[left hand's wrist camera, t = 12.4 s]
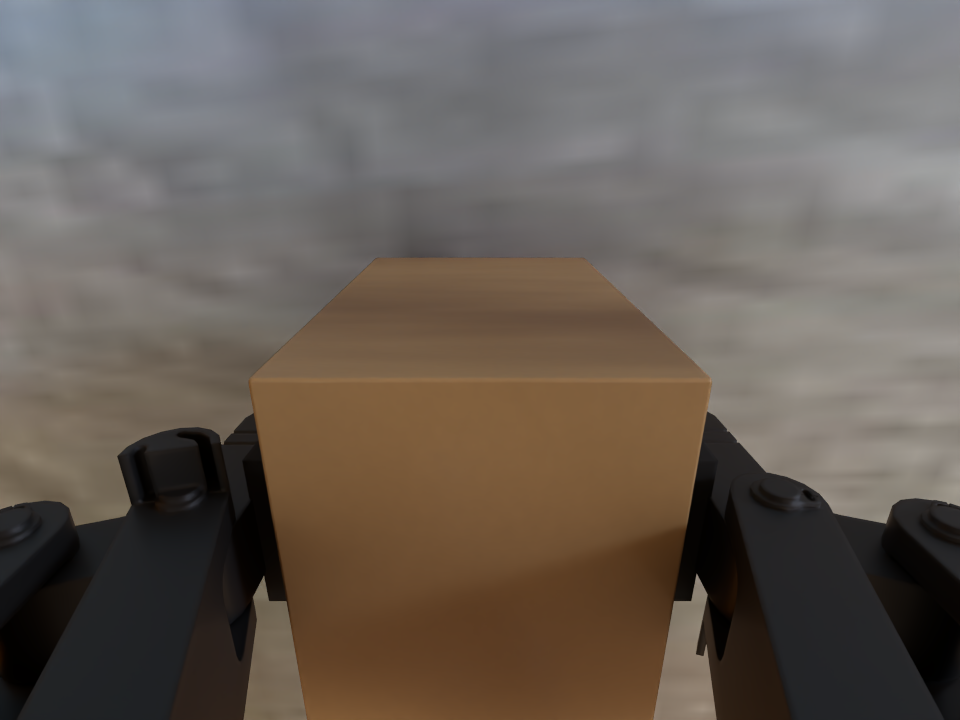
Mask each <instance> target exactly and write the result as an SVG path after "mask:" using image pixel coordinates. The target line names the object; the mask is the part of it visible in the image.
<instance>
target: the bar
mask: <svg viewBox="0 0 960 720" xmlns="http://www.w3.org/2000/svg"><path fill="white" fill-rule="evenodd" d="M711 385H712V380H711V378H710V377H709V376H708V375H707V374H706V373H705V372H704V371H703V370H702V369H701V368H700V367H699V366H698V365H697V364H696V363H695V362H693V361H692V360H691V359H690V358H689V357H688V356H687V355H686V354H685V353H684V352H683V351H682V350H681V349H680V348H679V347H678V346H677V345H675V344H674V343H673V342H672V341H671V340H670V339H669V338H668V337H667V336H666V335H665V334H664V333H663V332H662V331H661V330H660V329H659V328H658V327H656V326H655V325H654V324H653V323H652V322H651V321H650V320H649V319H648V318H647V317H646V316H645V315H644V314H643V313H642V312H641V311H640V310H638V309H637V308H636V307H635V306H634V305H633V304H632V303H631V302H630V301H629V300H628V299H627V298H626V297H625V296H624V295H623V294H622V293H620V292H619V291H618V290H617V289H616V288H615V287H614V286H613V285H612V284H611V283H610V282H609V281H608V280H607V279H606V278H605V277H604V276H603V275H601V274H600V273H599V272H598V271H597V270H596V269H595V268H594V267H593V266H592V265H591V264H590V263H589V262H588V261H587V260H586V259H585V258H376V259H375V260H374V261H373V262H372V263H371V264H369V265H368V266H367V267H366V268H365V269H364V270H363V271H362V272H361V273H360V274H359V275H358V276H357V277H356V278H355V279H354V280H353V281H352V282H350V283H349V284H348V285H347V286H346V287H345V288H344V289H343V290H342V291H341V292H340V293H339V294H338V295H337V296H336V297H335V298H334V299H332V300H331V301H330V302H329V303H328V304H327V305H326V306H325V307H324V308H323V309H322V310H321V311H320V312H319V313H318V314H317V315H316V316H315V317H313V318H312V319H311V320H310V321H309V322H308V323H307V324H306V325H305V326H304V327H303V328H302V329H301V330H300V331H299V332H298V333H297V334H295V335H294V336H293V337H292V338H291V339H290V340H289V341H288V342H287V343H286V344H285V345H284V346H283V347H282V348H281V349H280V350H279V351H278V352H276V353H275V354H274V355H273V356H272V357H271V358H270V359H269V360H268V361H267V362H266V363H265V364H264V365H263V366H262V367H261V368H260V369H259V370H257V371H256V372H255V373H254V374H253V375H252V376H251V377H250V378H249V388H250V394H251V400H252V405H253V411H254V417H255V422H256V428H257V434H258V440H259V445H260V451H261V457H262V463H263V468H264V474H265V480H266V486H267V491H268V497H269V503H270V508H271V514H272V520H273V526H274V531H275V537H276V543H277V549H278V554H279V560H280V566H281V572H282V577H283V583H284V589H285V594H286V600H287V606H288V612H289V617H290V623H291V629H292V635H293V640H294V646H295V652H296V658H297V663H298V669H299V675H300V680H301V686H302V692H303V698H304V703H305V709H306V715H307V720H653V717H654V711H655V705H656V700H657V694H658V688H659V683H660V677H661V671H662V665H663V660H664V654H665V648H666V643H667V637H668V631H669V625H670V620H671V614H672V608H673V603H674V597H675V591H676V585H677V580H678V574H679V568H680V563H681V557H682V551H683V545H684V540H685V534H686V528H687V523H688V517H689V511H690V505H691V500H692V494H693V488H694V483H695V477H696V471H697V465H698V460H699V454H700V448H701V443H702V437H703V431H704V425H705V420H706V414H707V408H708V403H709V397H710V391H711Z"/></svg>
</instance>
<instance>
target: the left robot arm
mask: <svg viewBox="0 0 960 720" xmlns="http://www.w3.org/2000/svg"><path fill="white" fill-rule="evenodd" d="M117 457H118V460H119V463H120V467H121V470H122V474H123V477H124V481H125V484H126V487H127V491H128V494H129V498H130V501H131V504H132V506H131V507H130V509H129V511H128V513H127V515H126V516H124V517H120V518H115V519H110V520H105V521H100V522H94V523H89V524H84V525H79V526H75V524H74V521H73V519H72V516H71V513H70V510H69V508H68V507H67V506H65V505H64V504H62V503H61V502H52V501H40V502H32V503H22V504H17V505H15V506H14V507H12V506H10V507H7V508H3V509H1V510H0V720H243V719H244V711H245V704H246V696H247V689H248V681H249V674H250V666H251V659H252V652H253V644H254V637H255V629H256V622H257V618H256V611H255V606H254V601H253V596H254V594H255V592H256V590H257V588H258V586H259V584H260V582H261V580H262V578H263V576H264V577H265V582H266V587H267V592H268V597H269V601H287V600H286V594H285V589H284V583H283V577H282V572H281V566H280V560H279V554H278V549H277V543H276V537H275V531H274V526H273V520H272V514H271V508H270V503H269V497H268V491H267V486H266V480H265V474H264V468H263V463H262V457H261V451H260V445H259V440H258V434H257V428H256V422H255V417H254V413H253V414H252V415H250V416H248V417H246V418H245V419H244V420H243V421H242V423H241V424H240V425H239V426H238V427H237V428H236V429H235V430H234V434H231V435H230V436H229V437H228V438H227V439H226V440H225V441H224V445H221V442H220V437H219V435H218V434H217V433H215V432H214V431H212V430H210V429H204V428H199V427H195V428H179V429H173V430H168V431H163V432H160V433H157V434H154V435H151V436H148V437H145V438H143V439H141V440H139V441H137V442H135V443H134V444H132V445H130V446H128V447H127V448H126V449H125V450H124V451H122V452H121V453H120V454H119V455H118V456H117ZM696 574H697V575H698V577H699V579H700V580H701V582H702V584H703V586H704V588H705V590H706V592H707V594H708V596H707V601H706V606H705V610H704V615H703V620H702V625H701V630H700V634H699V639H698V645H697V651H696V654H697V655H701V656H704V651H705V646H706V644H707V650H708V658H709V665H710V673H711V680H712V688H713V695H714V702H715V710H716V717H717V720H960V506H956V505H953V504H947V503H946V502H942V501H937V500H925V499H917V498H914V499H905V500H900V501H899V502H897V503H896V504H894V505H893V506H892V509H891V511H890V514H889V517H888V520H887V523H886V524H884V523H879V522H874V521H868V520H863V519H858V518H852V517H847V516H842V515H838V514H834V513H833V512H832V510H831V508H830V506H829V505H828V503H827V502H826V501H825V500H824V499H823V498H822V496H821V495H820V494H819V493H817V492H816V491H814V490H813V489H811V488H809V487H808V486H806V485H805V484H803V483H800V482H798V481H795V480H793V479H790V478H788V477H784V476H780V475H776V474H772V473H766V472H765V471H764V470H763V469H762V467H761V466H760V465H759V464H758V463H757V462H756V461H755V460H754V459H753V457H752V456H751V455H750V454H749V453H748V452H747V451H746V450H745V449H744V448H743V446H742V445H741V444H740V443H737V440H736V439H735V438H734V437H733V435H732V434H731V433H730V432H727V429H726V428H725V427H724V425H723V424H722V423H721V422H720V421H719V420H718V419H717V418H716V417H715V416H714V415H712V414H710V413H709V412H707V414H706V420H705V425H704V431H703V437H702V443H701V448H700V454H699V460H698V465H697V471H696V477H695V483H694V488H693V494H692V500H691V505H690V511H689V517H688V523H687V528H686V534H685V540H684V545H683V551H682V557H681V563H680V568H679V574H678V580H677V585H676V591H675V597H674V601H691V599H692V594H693V589H694V584H695V579H696Z"/></svg>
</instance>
